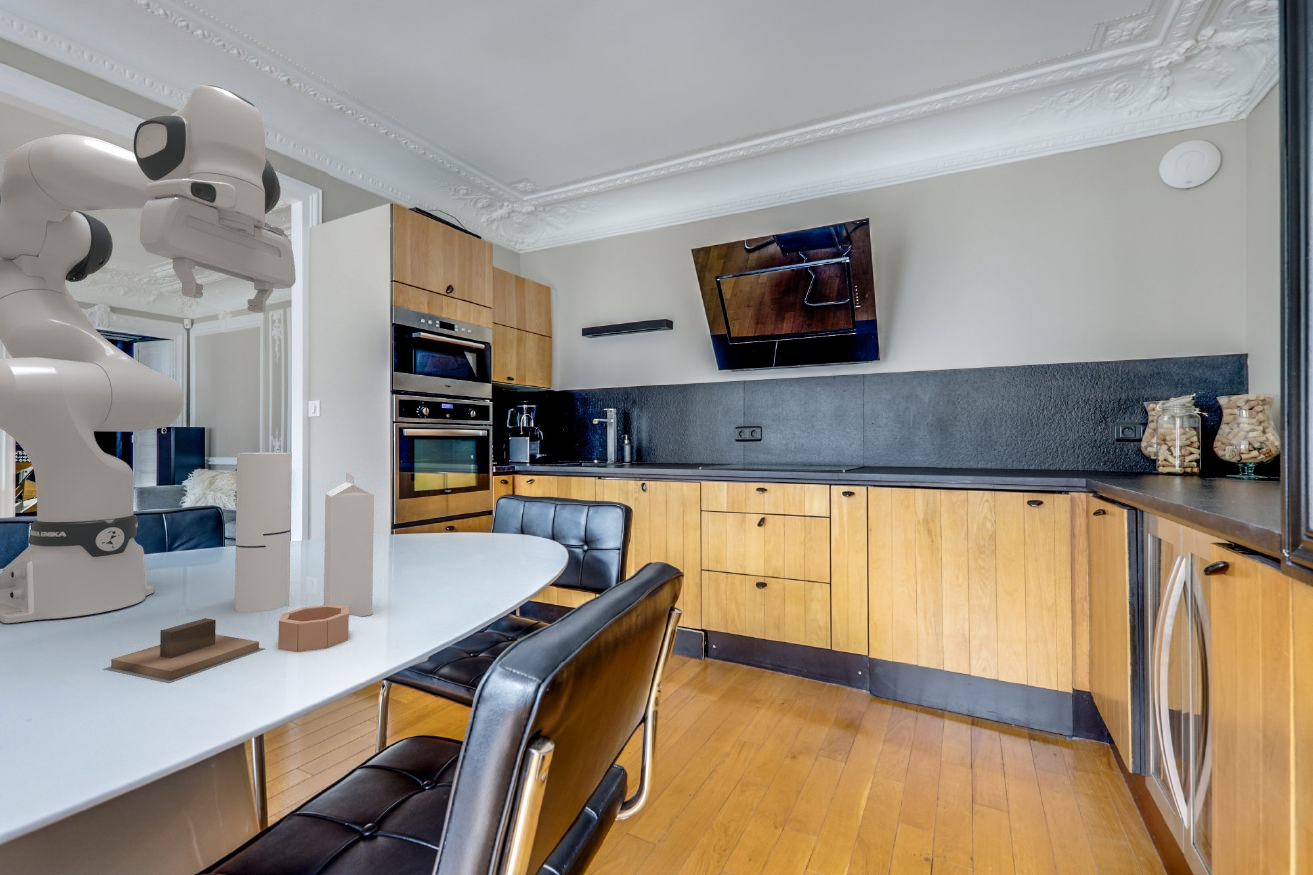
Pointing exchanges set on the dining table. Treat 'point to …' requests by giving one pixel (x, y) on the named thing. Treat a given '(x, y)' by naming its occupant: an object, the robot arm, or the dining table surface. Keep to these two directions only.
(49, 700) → the dining table surface
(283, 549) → the cylindrical container
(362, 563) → the milk
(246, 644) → the lid
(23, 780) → the dining table surface
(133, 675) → the mat
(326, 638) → the bowl
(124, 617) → the dining table surface
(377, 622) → the dining table surface
